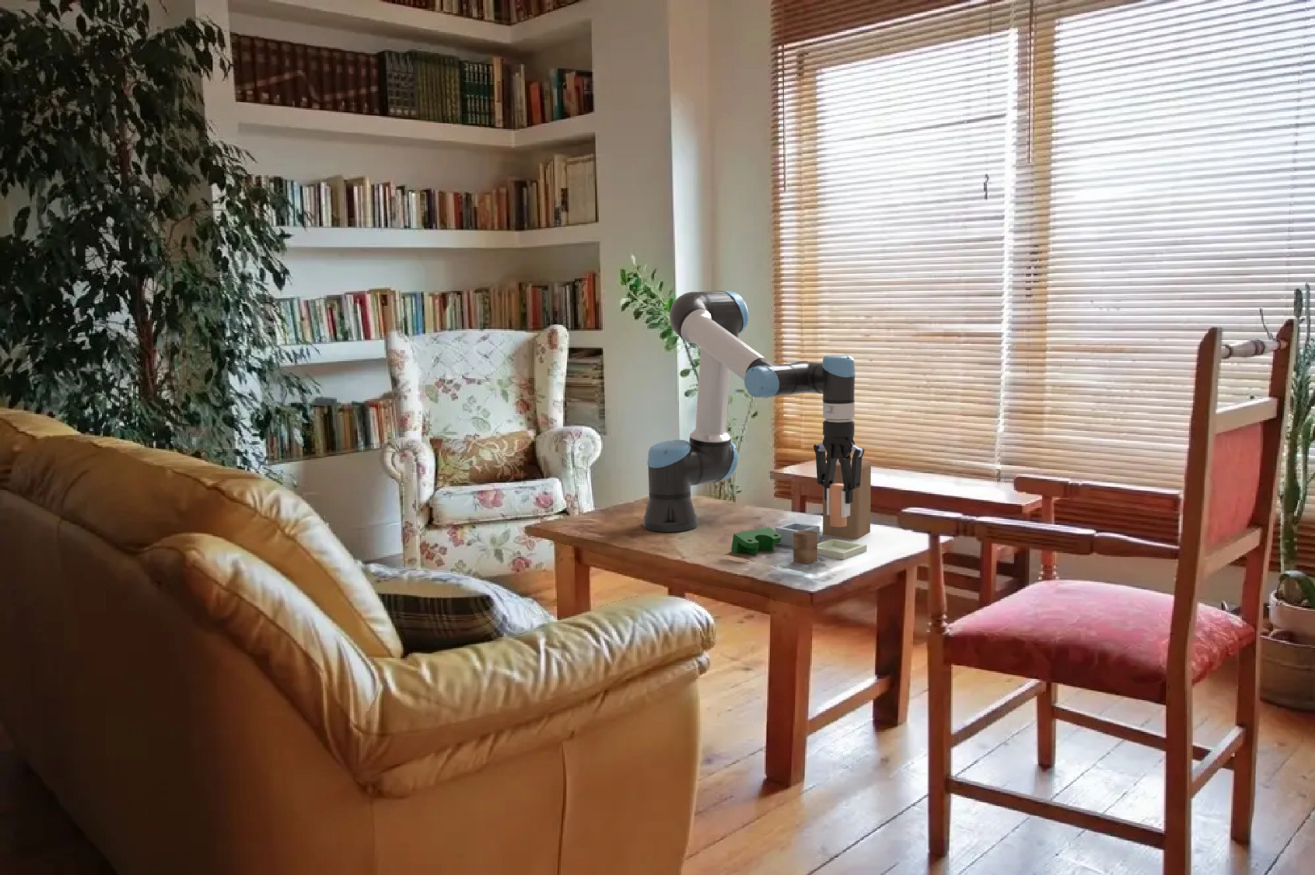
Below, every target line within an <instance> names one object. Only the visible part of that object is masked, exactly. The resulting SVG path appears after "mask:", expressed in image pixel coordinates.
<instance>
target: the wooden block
mask: <svg viewBox="0 0 1315 875" xmlns="http://www.w3.org/2000/svg"><path fill="white" fill-rule="evenodd" d="M850 463H851V468H852V458H851V461H850ZM826 464H827V462H826ZM871 473H872V464H871V461H869V460H863V459H862V466H861V483H860V487H859V488H856V489H854V490H853V502H852V503H850V516H847V526H845V527H833V526H830V515H827V501H826V500H825V498H824V486H822V536H825V537H826V536H827V537H833V538H842V539H849V540H851V539H852V540H860V539H861V538H863V537H864V536H866V535H868V534H869V533H871V506H872V505H871V496H872V495H871V493H872V492H871V491H872V490H871V489H872V488H871V487H872V486H871V485H872V474H871ZM836 483H840V484H843V478H842V471H841V464H840V463H839V459H838V460H837V462H836V469H835V475H834V482H833V484H836Z"/></svg>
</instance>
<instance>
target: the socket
mask: <svg viewBox="0 0 1315 875" xmlns="http://www.w3.org/2000/svg"><path fill="white" fill-rule="evenodd" d="M820 529H821V527H820V526H819V525H813V524H809V523H804V522H797V521H792V522H789V523H786V524H782V525H779V526H776V527H774V531H776V532H777V533H779V534H780V535H781V536H782V537H781V542H780V543H777V544H779V545H782V546H789V547H793V533H794V532H797V531H801V530H808V531H814V532H817V544H818V543H821V539H820V538H821V532H820V531H821V530H820Z"/></svg>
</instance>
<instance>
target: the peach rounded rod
mask: <svg viewBox="0 0 1315 875" xmlns="http://www.w3.org/2000/svg"><path fill="white" fill-rule="evenodd" d="M842 489H844V485H843V484H840V483H836V484H831V485H830V526H833V527H845V526H847V517H844V518H843V517H841V491H843V490H842Z"/></svg>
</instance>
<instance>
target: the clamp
mask: <svg viewBox="0 0 1315 875" xmlns="http://www.w3.org/2000/svg"><path fill="white" fill-rule="evenodd" d="M781 537H782V536H781V535H780V534H779V533H777V532H776V531H775V529H774V528H773V529H772V527H769V526H765V527H762V528H761V527H760V528H757V529H756V528H755V529H751V530H750V529H749V530H745V531H740V532H735V533H733V536H732V542H731V549H730V550H731V552H732V553H734V554H739V553H748V554H751V555H755V556H756V555H758V553H759V552H758V551H769V552H772V553H773V551H774V548H775V544H778V543H780V542H781Z"/></svg>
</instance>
